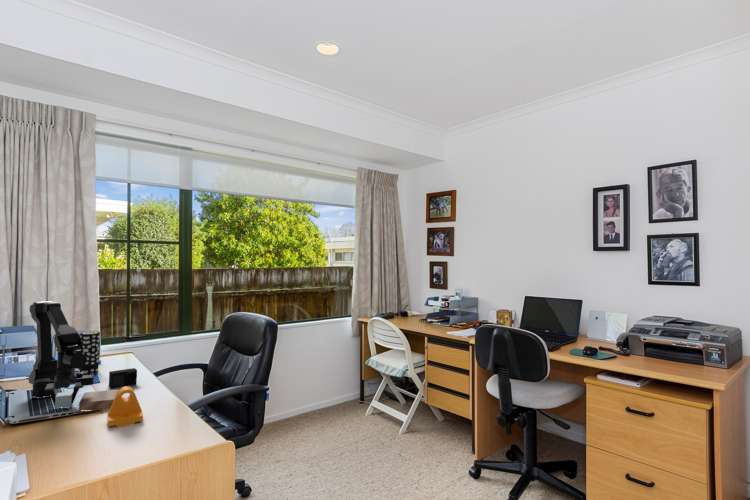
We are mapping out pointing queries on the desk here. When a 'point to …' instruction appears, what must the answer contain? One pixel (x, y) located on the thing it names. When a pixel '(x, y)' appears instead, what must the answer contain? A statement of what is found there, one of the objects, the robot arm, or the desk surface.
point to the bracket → (124, 409)
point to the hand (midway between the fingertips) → (64, 404)
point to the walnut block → (97, 400)
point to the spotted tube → (90, 352)
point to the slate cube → (63, 399)
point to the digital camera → (122, 378)
